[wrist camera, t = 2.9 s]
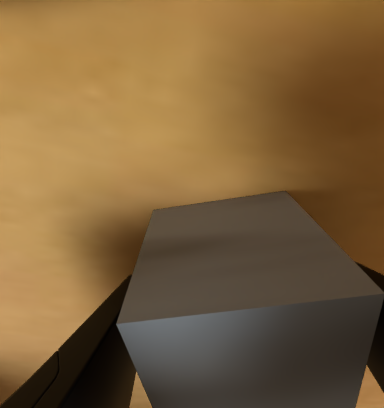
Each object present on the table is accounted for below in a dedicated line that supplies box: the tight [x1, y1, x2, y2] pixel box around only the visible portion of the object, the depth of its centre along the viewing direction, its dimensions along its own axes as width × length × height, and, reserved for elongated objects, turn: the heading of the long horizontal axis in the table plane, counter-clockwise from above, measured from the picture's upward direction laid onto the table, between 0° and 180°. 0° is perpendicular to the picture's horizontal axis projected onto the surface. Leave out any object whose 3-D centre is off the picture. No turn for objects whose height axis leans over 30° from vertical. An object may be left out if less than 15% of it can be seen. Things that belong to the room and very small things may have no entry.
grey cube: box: [116, 191, 384, 408], centre depth 8 cm, size 5×5×5 cm
